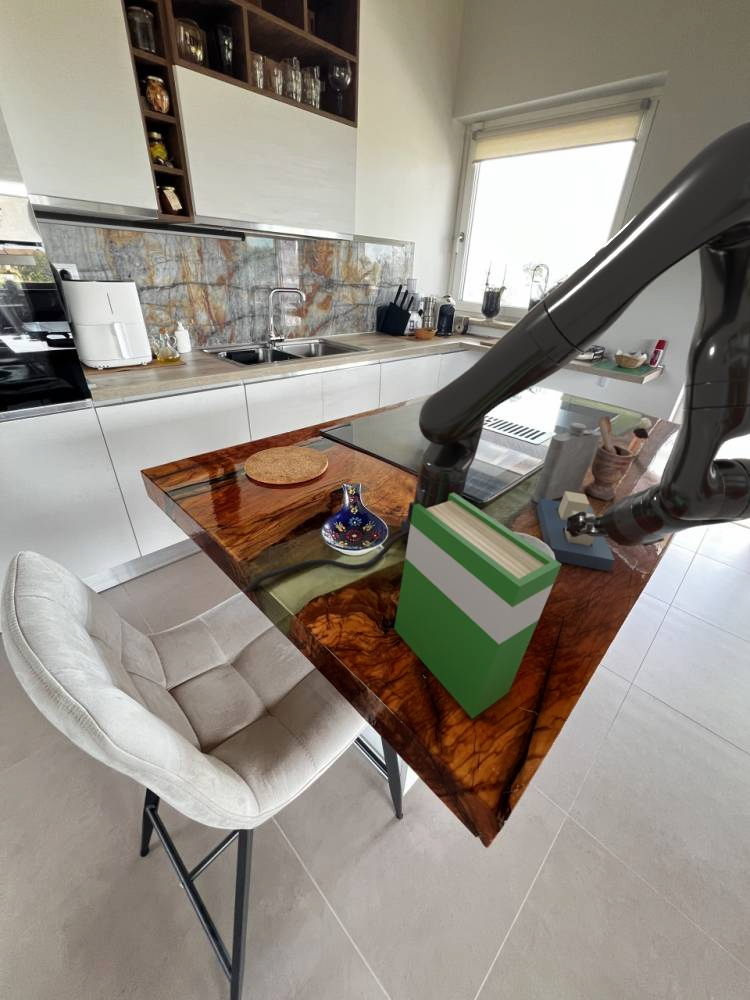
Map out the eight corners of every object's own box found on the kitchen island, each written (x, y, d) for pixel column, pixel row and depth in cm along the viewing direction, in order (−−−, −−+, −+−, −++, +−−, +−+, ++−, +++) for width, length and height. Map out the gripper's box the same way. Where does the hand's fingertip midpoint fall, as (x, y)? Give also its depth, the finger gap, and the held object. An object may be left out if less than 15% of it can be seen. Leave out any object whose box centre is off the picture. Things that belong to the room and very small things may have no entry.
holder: (547, 559, 87) (552, 548, 85) (536, 508, 104) (539, 497, 103) (609, 571, 85) (615, 560, 83) (587, 517, 103) (591, 507, 101)
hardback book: (394, 628, 67) (413, 505, 55) (428, 611, 71) (453, 492, 59) (472, 718, 55) (519, 586, 43) (508, 692, 59) (561, 564, 47)
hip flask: (539, 504, 106) (563, 431, 96) (527, 496, 109) (550, 425, 98) (580, 493, 113) (607, 424, 102) (568, 486, 116) (594, 419, 105)
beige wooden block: (557, 529, 97) (568, 500, 93) (554, 519, 101) (565, 490, 96) (577, 533, 96) (589, 504, 92) (573, 522, 100) (585, 494, 96)
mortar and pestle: (565, 486, 116) (591, 419, 105) (578, 478, 121) (603, 412, 111) (608, 504, 109) (639, 434, 99) (619, 494, 114) (650, 426, 104)
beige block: (585, 556, 89) (599, 525, 84) (564, 552, 89) (576, 521, 85) (581, 544, 92) (594, 514, 88) (560, 540, 93) (572, 510, 89)
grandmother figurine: (618, 449, 143) (633, 414, 136) (626, 448, 144) (642, 414, 138) (636, 459, 137) (652, 423, 130) (644, 458, 138) (661, 422, 131)
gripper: (690, 503, 64) (636, 524, 79) (594, 487, 66) (559, 510, 81) (689, 551, 62) (634, 562, 78) (590, 533, 64) (555, 547, 80)
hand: (596, 535), depth 80 cm, fingers open, 8 cm apart
